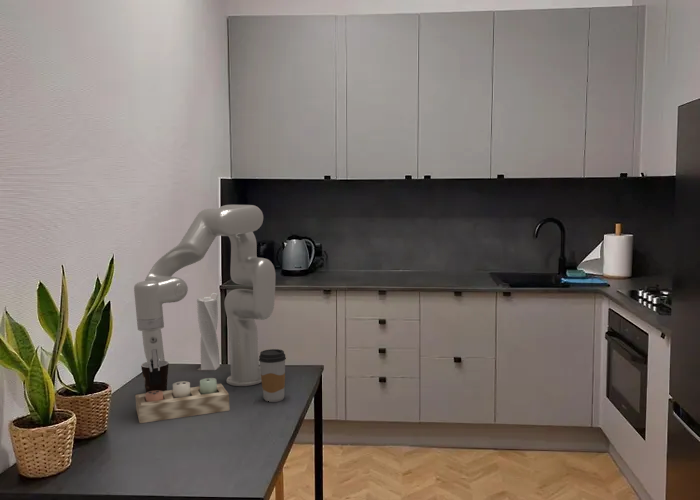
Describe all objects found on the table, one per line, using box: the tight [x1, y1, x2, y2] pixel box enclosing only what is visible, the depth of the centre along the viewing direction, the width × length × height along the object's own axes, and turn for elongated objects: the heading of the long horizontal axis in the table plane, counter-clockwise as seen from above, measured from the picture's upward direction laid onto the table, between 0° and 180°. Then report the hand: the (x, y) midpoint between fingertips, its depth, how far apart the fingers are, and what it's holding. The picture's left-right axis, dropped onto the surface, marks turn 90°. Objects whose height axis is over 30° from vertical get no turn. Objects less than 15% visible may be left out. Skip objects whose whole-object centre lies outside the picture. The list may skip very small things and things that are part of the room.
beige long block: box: [134, 383, 230, 424], centre depth 222 cm, size 26×12×5 cm, turn 110°
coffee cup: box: [258, 348, 287, 403], centre depth 230 cm, size 8×8×15 cm
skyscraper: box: [196, 292, 222, 371], centre depth 267 cm, size 8×8×28 cm
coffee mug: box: [140, 359, 170, 393], centre depth 240 cm, size 12×9×10 cm
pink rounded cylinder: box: [144, 390, 163, 402], centre depth 219 cm, size 5×5×5 cm
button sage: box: [199, 377, 218, 395], centre depth 224 cm, size 5×5×5 cm
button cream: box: [172, 380, 191, 398], centre depth 221 cm, size 5×5×5 cm
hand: (155, 383), depth 219 cm, fingers closed
